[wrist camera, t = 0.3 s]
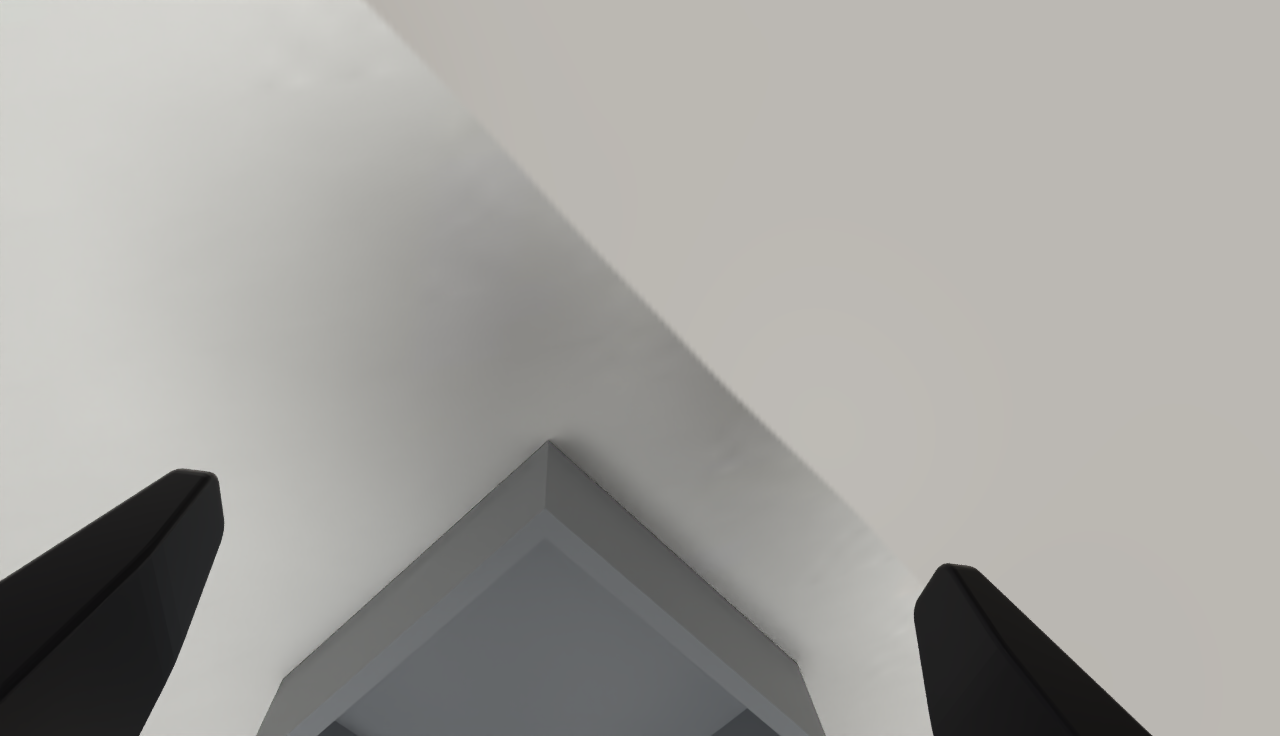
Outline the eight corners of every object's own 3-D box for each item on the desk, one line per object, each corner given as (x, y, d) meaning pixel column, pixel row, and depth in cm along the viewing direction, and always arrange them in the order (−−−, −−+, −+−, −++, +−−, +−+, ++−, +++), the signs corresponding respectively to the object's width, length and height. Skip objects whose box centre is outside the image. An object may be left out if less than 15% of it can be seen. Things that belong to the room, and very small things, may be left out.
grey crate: (548, 855, 34) (545, 967, 29) (282, 679, 29) (234, 780, 25) (797, 664, 31) (833, 756, 27) (548, 440, 27) (544, 508, 22)
